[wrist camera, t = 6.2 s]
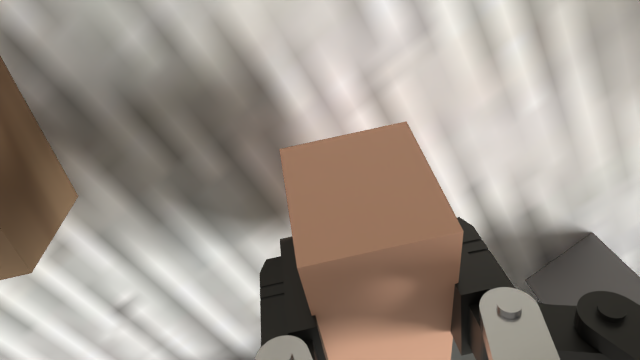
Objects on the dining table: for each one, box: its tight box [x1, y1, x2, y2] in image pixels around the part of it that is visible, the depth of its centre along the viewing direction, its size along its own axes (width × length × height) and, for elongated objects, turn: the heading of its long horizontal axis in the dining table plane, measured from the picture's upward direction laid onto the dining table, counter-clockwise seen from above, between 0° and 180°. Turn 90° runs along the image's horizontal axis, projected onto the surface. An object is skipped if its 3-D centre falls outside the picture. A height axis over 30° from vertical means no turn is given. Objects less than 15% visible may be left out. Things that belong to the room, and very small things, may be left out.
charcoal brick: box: [525, 233, 640, 306], centre depth 20 cm, size 6×4×4 cm, turn 45°
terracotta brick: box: [280, 122, 464, 360], centre depth 13 cm, size 6×4×4 cm, turn 11°
